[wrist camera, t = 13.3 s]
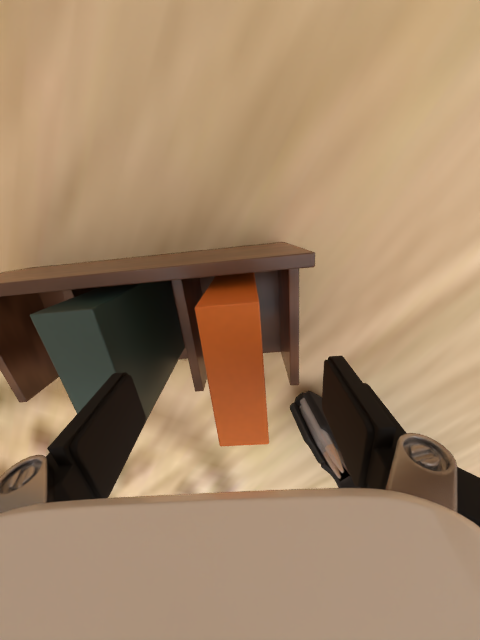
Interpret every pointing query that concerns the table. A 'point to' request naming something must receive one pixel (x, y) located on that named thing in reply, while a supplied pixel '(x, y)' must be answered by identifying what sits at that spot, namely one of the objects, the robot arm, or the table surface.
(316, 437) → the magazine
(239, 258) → the book rack
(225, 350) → the orange book
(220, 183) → the table surface
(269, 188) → the table surface
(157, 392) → the green book
